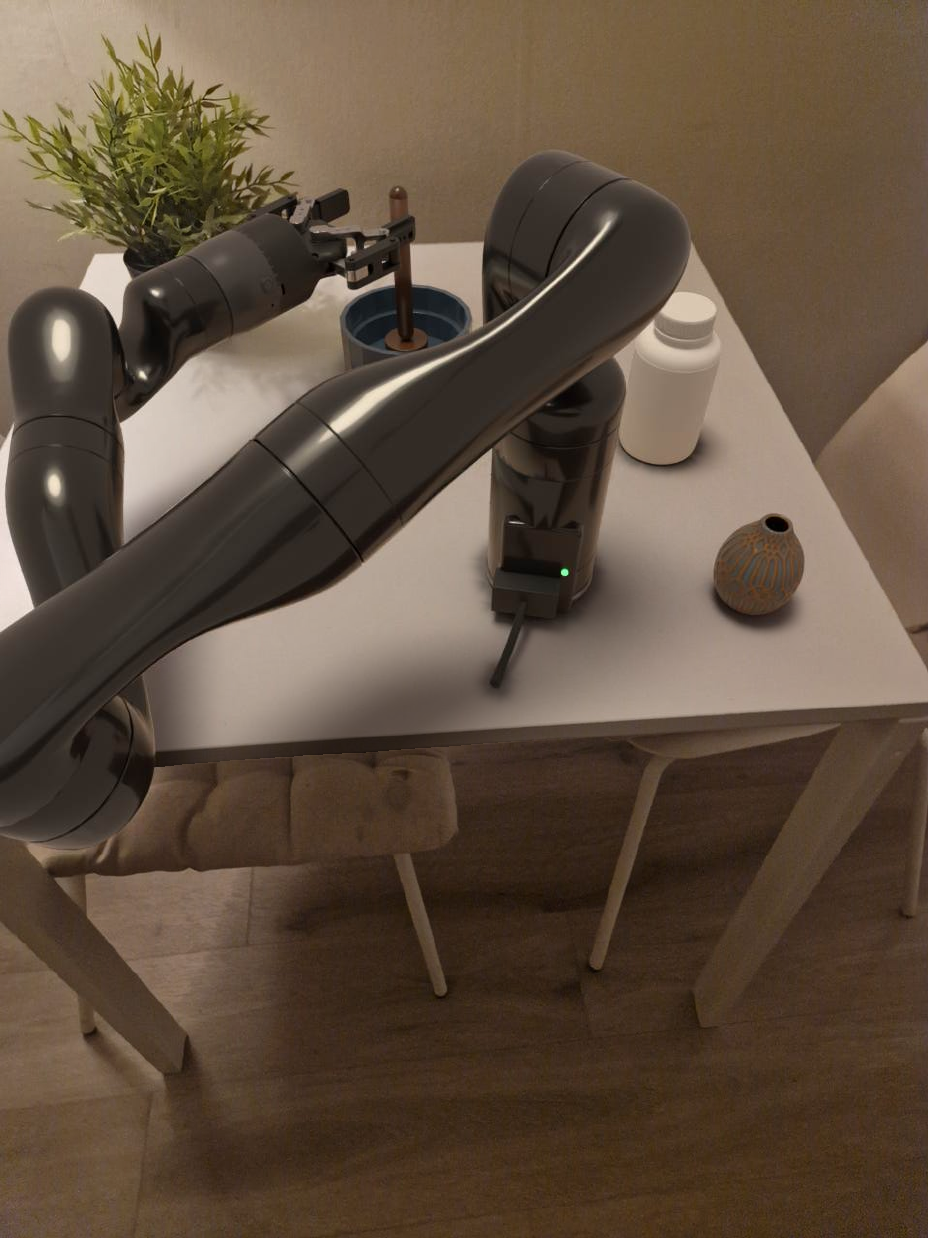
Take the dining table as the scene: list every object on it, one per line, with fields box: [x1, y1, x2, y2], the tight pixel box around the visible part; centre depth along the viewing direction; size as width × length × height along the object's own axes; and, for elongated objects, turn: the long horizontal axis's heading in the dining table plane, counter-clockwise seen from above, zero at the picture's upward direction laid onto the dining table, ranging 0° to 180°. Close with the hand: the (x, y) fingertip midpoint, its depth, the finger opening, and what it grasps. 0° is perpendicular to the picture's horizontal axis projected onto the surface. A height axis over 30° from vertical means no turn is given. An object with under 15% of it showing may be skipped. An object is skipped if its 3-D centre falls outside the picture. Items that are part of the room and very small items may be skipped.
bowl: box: [339, 283, 473, 372], centre depth 88 cm, size 14×14×6 cm
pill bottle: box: [618, 291, 723, 466], centre depth 76 cm, size 8×8×15 cm
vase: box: [713, 512, 805, 616], centre depth 65 cm, size 7×7×9 cm
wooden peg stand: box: [385, 184, 428, 352], centre depth 83 cm, size 5×5×19 cm
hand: (379, 212), depth 75 cm, fingers open, 8 cm apart
